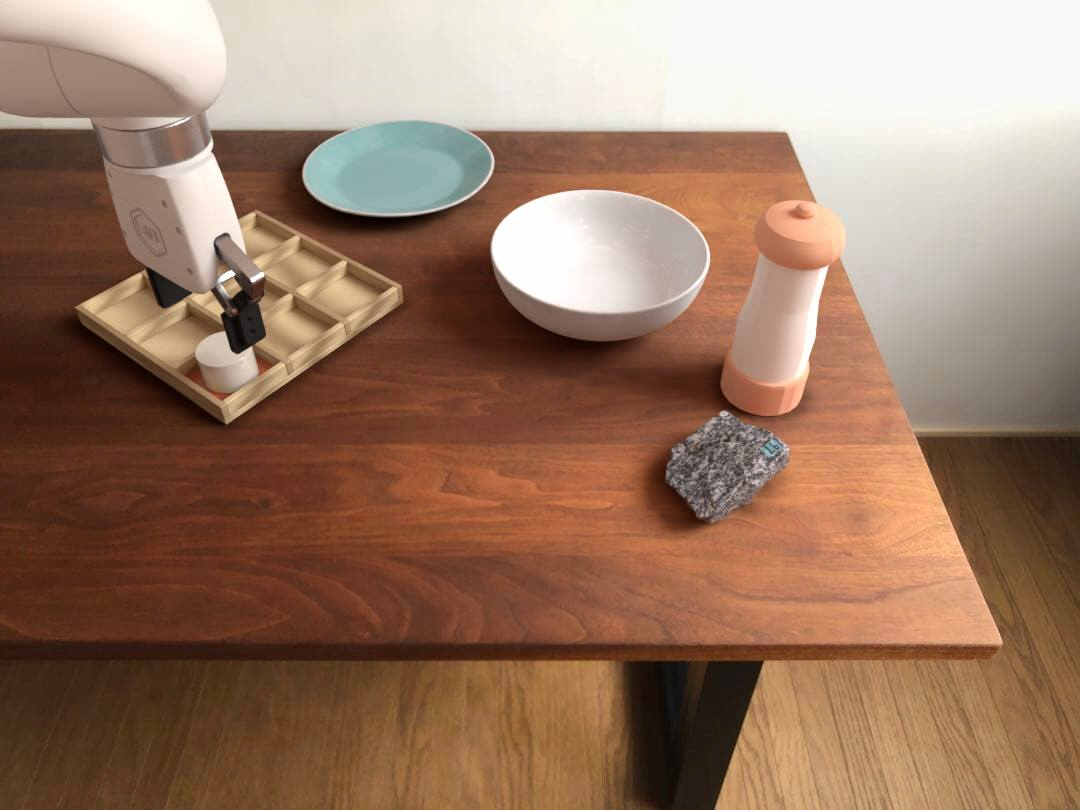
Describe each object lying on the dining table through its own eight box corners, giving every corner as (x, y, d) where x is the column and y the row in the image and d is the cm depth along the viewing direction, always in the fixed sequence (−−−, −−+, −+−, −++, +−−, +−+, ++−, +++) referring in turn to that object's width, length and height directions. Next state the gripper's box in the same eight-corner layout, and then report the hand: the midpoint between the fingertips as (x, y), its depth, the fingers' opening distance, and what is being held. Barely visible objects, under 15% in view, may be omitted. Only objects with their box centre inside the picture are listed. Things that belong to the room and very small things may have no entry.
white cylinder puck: (227, 401, 78) (218, 374, 76) (192, 378, 80) (183, 351, 78) (270, 372, 81) (262, 345, 78) (236, 350, 83) (227, 323, 80)
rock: (638, 481, 73) (642, 445, 70) (725, 427, 77) (733, 392, 74) (703, 541, 69) (711, 506, 66) (792, 481, 73) (804, 446, 70)
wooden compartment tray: (226, 425, 77) (220, 407, 75) (81, 324, 86) (74, 307, 85) (403, 302, 89) (401, 285, 88) (260, 225, 99) (256, 209, 97)
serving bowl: (731, 355, 84) (743, 297, 79) (512, 385, 81) (512, 326, 76) (664, 233, 99) (671, 178, 94) (476, 254, 95) (474, 198, 91)
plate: (266, 188, 104) (261, 166, 102) (405, 121, 117) (403, 100, 115) (395, 262, 94) (393, 239, 92) (533, 180, 106) (533, 158, 104)
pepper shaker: (795, 363, 83) (847, 181, 70) (807, 418, 78) (865, 233, 65) (717, 359, 84) (754, 177, 70) (723, 414, 79) (764, 229, 65)
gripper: (38, 115, 65) (113, 304, 77) (184, 191, 58) (242, 388, 69) (129, 81, 69) (186, 265, 81) (275, 148, 62) (315, 340, 74)
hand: (212, 321), depth 75 cm, fingers open, 9 cm apart
